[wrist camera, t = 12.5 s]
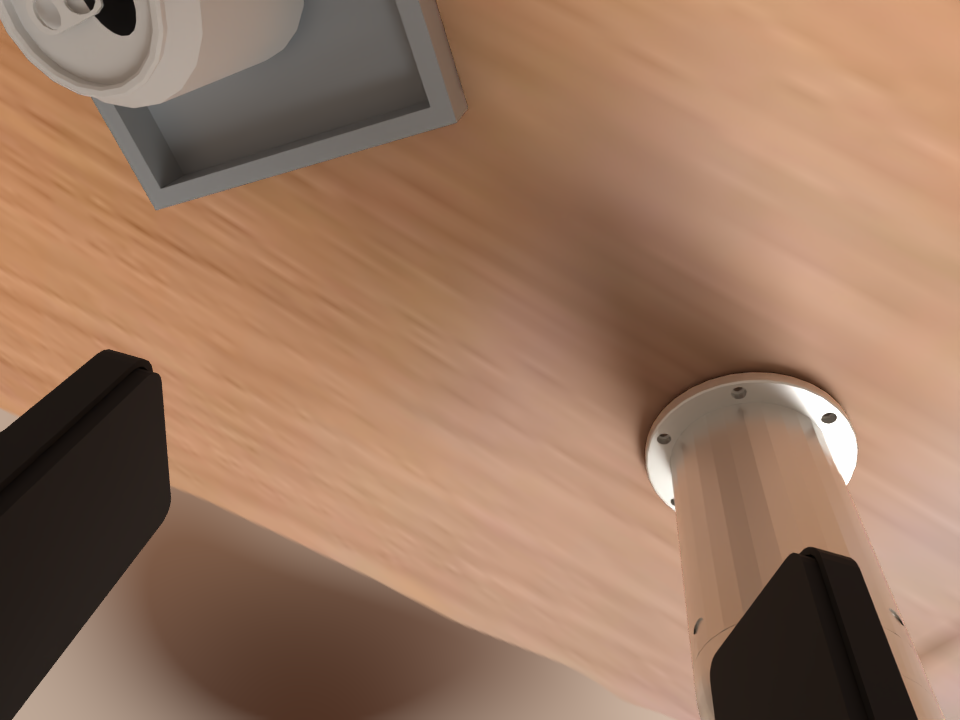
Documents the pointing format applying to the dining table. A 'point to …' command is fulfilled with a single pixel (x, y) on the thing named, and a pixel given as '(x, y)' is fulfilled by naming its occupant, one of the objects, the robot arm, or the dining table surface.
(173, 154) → the parts tray
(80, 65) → the can
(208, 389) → the dining table surface
